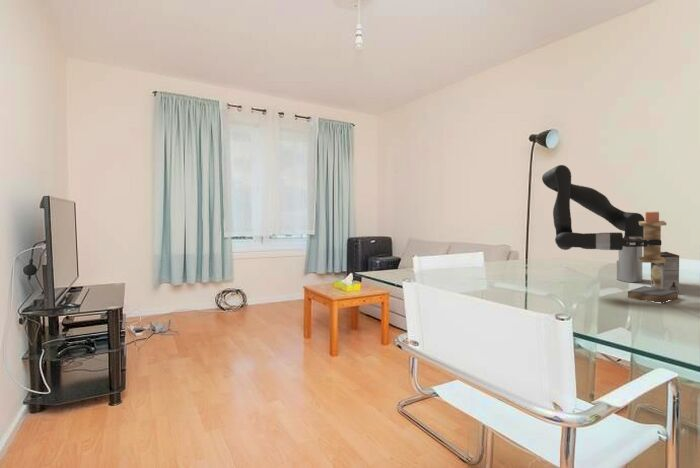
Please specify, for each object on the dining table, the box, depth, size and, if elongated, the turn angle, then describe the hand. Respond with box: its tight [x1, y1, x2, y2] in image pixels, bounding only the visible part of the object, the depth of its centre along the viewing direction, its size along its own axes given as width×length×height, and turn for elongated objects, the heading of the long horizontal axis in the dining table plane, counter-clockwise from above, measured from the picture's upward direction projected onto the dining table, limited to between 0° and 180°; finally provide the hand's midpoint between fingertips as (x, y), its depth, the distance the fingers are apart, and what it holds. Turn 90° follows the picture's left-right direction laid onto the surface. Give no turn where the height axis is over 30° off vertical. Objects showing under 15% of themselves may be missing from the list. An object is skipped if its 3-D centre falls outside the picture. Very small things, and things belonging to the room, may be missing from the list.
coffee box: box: [650, 251, 680, 293], centre depth 160 cm, size 9×6×16 cm
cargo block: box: [644, 211, 660, 223], centre depth 148 cm, size 4×4×4 cm
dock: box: [627, 285, 679, 303], centre depth 151 cm, size 12×12×3 cm
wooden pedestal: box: [639, 220, 667, 264], centre depth 149 cm, size 8×8×16 cm
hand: (660, 241), depth 147 cm, fingers closed on wooden pedestal, 5 cm apart
